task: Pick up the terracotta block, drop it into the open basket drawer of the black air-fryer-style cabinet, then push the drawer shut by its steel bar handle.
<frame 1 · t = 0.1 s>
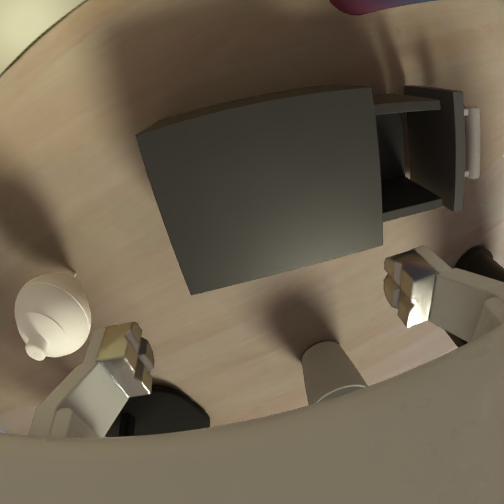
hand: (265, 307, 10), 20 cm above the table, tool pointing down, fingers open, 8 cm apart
light fixture: (467, 276, 39), on the table
cup 2: (324, 358, 42), on the table
drawer: (401, 148, 24), point 5 cm above the table, slide at 8.0 cm
desk fan: (147, 419, 44), on the table
spinning top: (75, 272, 30), on the table
cabinet: (255, 162, 28), on the table
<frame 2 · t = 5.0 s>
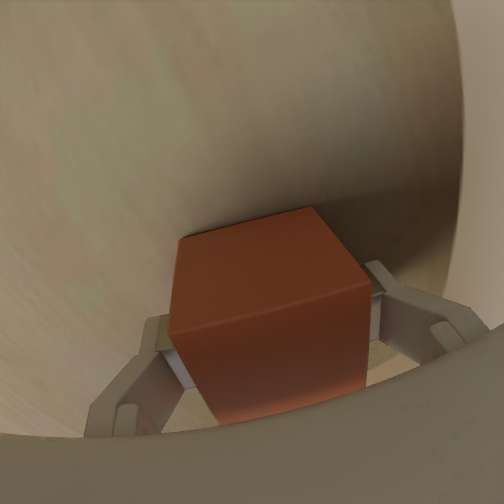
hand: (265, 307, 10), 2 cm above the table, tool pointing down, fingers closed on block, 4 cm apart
block: (258, 277, 11), on the table, touching gripper
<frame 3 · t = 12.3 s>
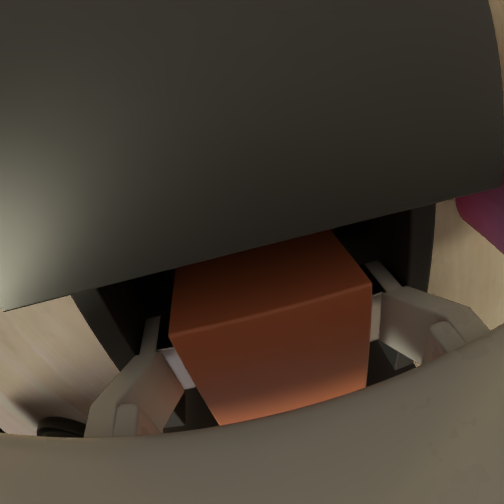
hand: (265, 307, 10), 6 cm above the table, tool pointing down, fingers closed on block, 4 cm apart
light fixture: (67, 437, 23), on the table
block: (259, 279, 11), point 5 cm above the table, touching gripper
cup: (479, 186, 16), on the table
drawer: (264, 299, 12), point 5 cm above the table, slide at 8.0 cm, touching gripper
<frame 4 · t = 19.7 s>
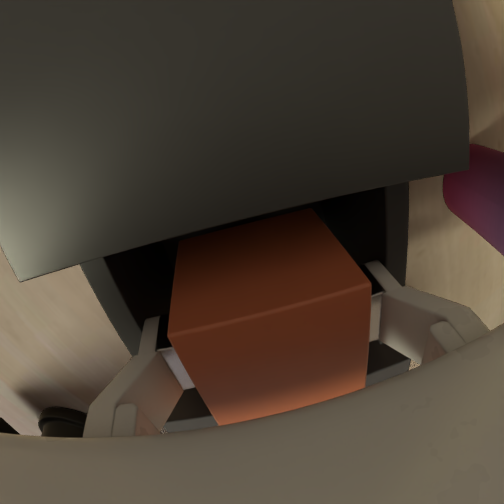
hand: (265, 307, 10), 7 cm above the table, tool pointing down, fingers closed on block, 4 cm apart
light fixture: (69, 428, 24), on the table
block: (258, 279, 11), point 6 cm above the table, touching gripper
cup: (466, 179, 17), on the table
drawer: (257, 278, 13), point 5 cm above the table, slide at 7.8 cm, touching gripper
cabinet: (188, 2, 11), on the table
when the fingers open (9 cm above the table, at t = 24.2 s): block drops 5 cm, resting on drawer.
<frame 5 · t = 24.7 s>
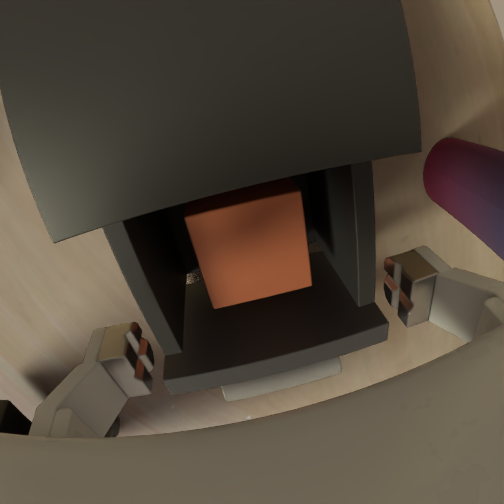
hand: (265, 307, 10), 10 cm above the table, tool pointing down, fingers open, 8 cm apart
light fixture: (73, 411, 26), on the table
block: (242, 213, 16), point 2 cm above the table, touching drawer
cup: (447, 170, 19), on the table
drawer: (250, 250, 15), point 5 cm above the table, slide at 7.7 cm, touching block
cabinet: (191, 14, 13), on the table
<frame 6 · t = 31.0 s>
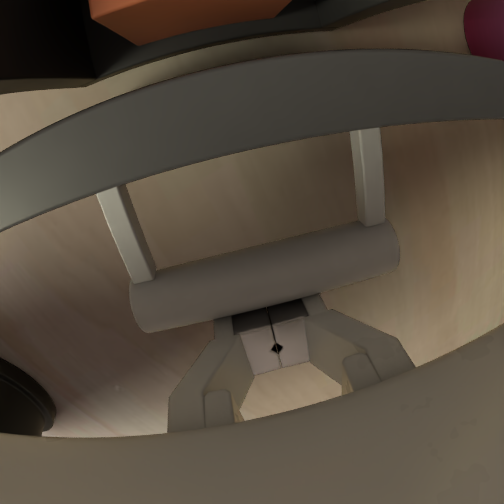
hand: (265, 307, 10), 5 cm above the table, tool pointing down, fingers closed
light fixture: (2, 389, 17), on the table
cup: (490, 39, 10), on the table
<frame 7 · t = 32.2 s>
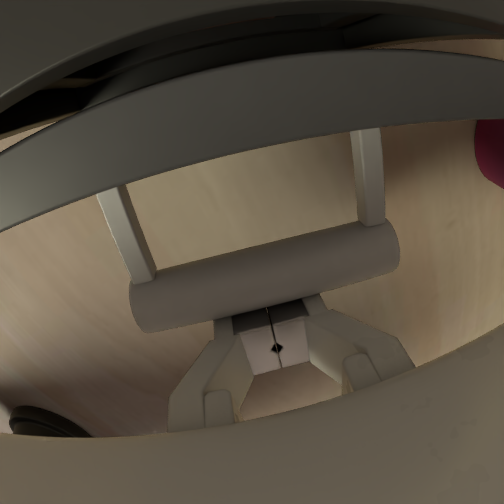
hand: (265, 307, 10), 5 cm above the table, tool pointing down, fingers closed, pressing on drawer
light fixture: (43, 430, 20), on the table
cup: (498, 139, 13), on the table
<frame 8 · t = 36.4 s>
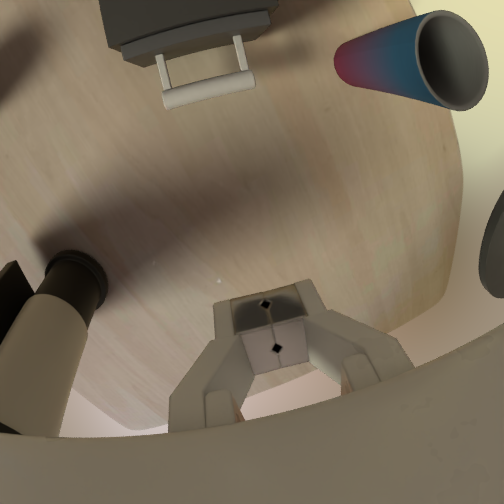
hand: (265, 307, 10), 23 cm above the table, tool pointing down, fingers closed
light fixture: (69, 281, 34), on the table
cup: (355, 63, 27), on the table
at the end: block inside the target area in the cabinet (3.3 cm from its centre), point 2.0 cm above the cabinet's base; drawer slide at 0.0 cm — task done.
